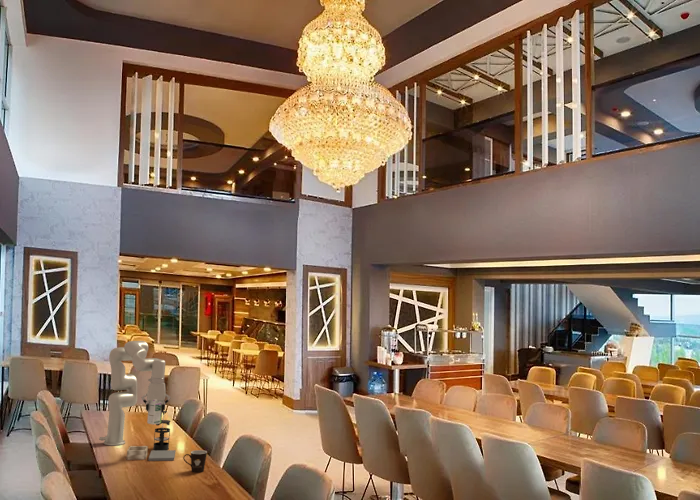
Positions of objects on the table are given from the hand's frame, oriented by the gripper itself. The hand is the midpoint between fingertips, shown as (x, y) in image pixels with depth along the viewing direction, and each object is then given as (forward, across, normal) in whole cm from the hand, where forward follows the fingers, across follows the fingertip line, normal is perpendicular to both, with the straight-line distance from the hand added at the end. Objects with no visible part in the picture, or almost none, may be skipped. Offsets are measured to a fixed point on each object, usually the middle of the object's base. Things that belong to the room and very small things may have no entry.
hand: (155, 411), depth 340 cm
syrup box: (+7, 0, 0) cm, 7 cm away
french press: (+26, +4, +19) cm, 33 cm away
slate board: (+26, +6, 0) cm, 27 cm away
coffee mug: (+27, +26, -30) cm, 48 cm away
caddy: (+26, -8, 0) cm, 27 cm away
